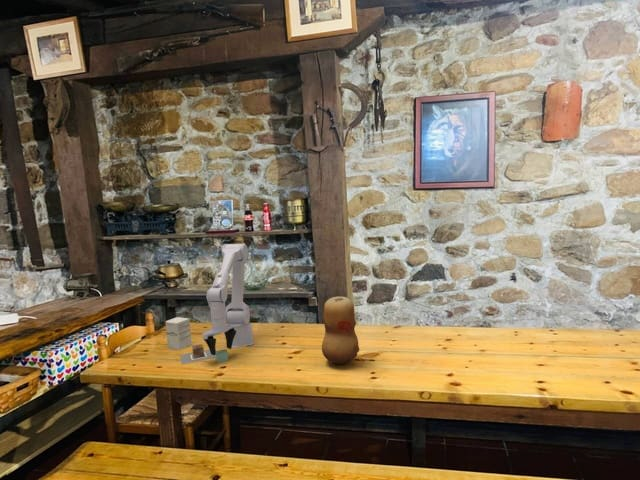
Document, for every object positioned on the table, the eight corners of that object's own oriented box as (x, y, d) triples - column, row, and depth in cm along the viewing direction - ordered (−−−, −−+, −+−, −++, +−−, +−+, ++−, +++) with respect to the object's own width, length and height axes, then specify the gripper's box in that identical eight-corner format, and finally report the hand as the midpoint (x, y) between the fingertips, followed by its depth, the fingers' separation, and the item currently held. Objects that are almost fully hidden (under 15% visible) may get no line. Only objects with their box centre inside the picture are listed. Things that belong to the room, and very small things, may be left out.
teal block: (226, 358, 169) (225, 349, 169) (228, 362, 165) (227, 352, 165) (216, 360, 168) (215, 351, 167) (218, 364, 164) (217, 354, 163)
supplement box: (167, 349, 183) (164, 321, 181) (180, 343, 189) (177, 316, 188) (179, 351, 179) (176, 323, 178) (192, 345, 186) (189, 318, 184)
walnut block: (202, 353, 174) (202, 344, 174) (204, 356, 171) (203, 347, 170) (192, 355, 173) (192, 345, 172) (194, 358, 169) (193, 349, 169)
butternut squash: (328, 372, 150) (324, 304, 148) (318, 359, 163) (315, 296, 160) (365, 366, 154) (362, 300, 151) (352, 353, 167) (349, 291, 164)
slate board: (214, 349, 179) (213, 348, 179) (218, 358, 169) (218, 357, 169) (179, 356, 174) (179, 354, 174) (181, 365, 164) (181, 364, 164)
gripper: (227, 311, 172) (230, 343, 174) (196, 321, 162) (199, 355, 163) (238, 314, 168) (241, 347, 169) (207, 324, 157) (210, 359, 158)
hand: (221, 351), depth 166 cm, fingers open, 7 cm apart
